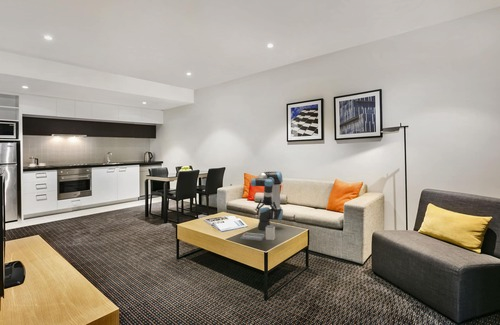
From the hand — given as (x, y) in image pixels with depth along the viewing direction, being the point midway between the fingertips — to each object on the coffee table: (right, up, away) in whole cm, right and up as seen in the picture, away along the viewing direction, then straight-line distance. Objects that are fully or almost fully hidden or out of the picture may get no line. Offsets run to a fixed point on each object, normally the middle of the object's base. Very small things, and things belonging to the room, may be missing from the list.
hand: (266, 216), depth 245 cm
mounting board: (-12, -24, +17) cm, 32 cm away
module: (+5, -24, +11) cm, 27 cm away
